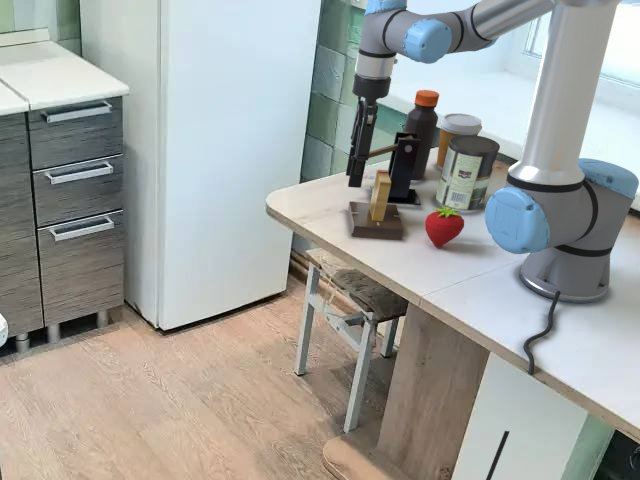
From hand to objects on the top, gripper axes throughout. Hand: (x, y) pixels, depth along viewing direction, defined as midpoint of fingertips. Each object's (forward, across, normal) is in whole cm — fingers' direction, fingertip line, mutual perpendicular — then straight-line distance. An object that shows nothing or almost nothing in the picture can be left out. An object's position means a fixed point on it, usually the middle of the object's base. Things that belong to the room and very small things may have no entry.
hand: (353, 180), depth 179 cm
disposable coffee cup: (+4, +21, -26) cm, 33 cm away
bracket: (+4, 0, -10) cm, 10 cm away
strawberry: (+4, -22, -16) cm, 27 cm away
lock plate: (+4, -14, -4) cm, 15 cm away
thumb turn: (+1, -14, -4) cm, 15 cm away
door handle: (-6, 0, -6) cm, 8 cm away
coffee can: (+4, 0, -24) cm, 24 cm away
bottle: (+4, +13, -15) cm, 20 cm away
